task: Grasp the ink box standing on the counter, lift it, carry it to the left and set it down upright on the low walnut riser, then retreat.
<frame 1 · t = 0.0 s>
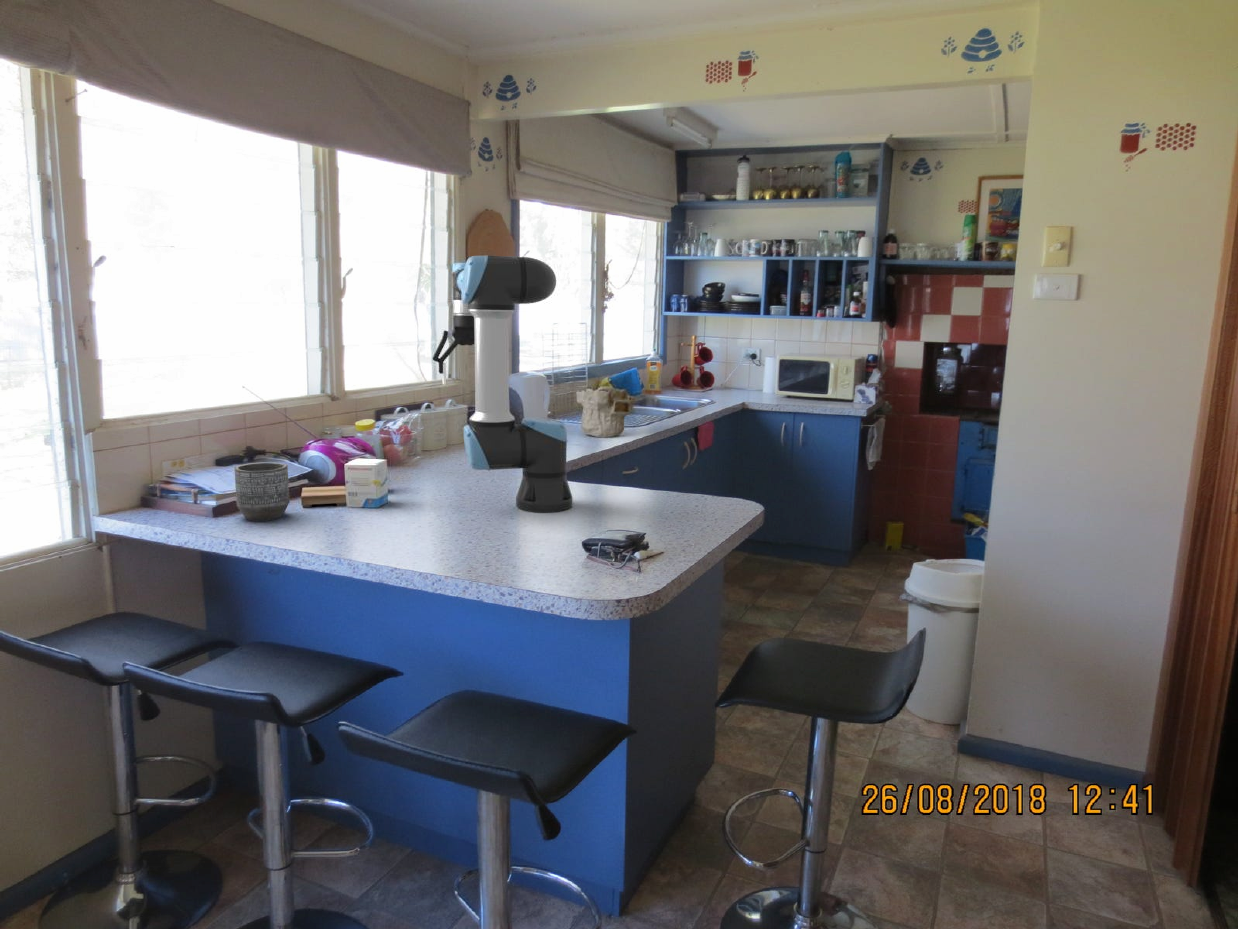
hand: (466, 384, 267), 28 cm above the countertop, fingers open, 13 cm apart
ink box: (367, 505, 229), on the countertop
planter: (264, 517, 214), on the countertop
tin: (376, 491, 244), on the countertop
riser: (324, 502, 230), on the countertop
ceramic vessel: (607, 435, 355), on the countertop
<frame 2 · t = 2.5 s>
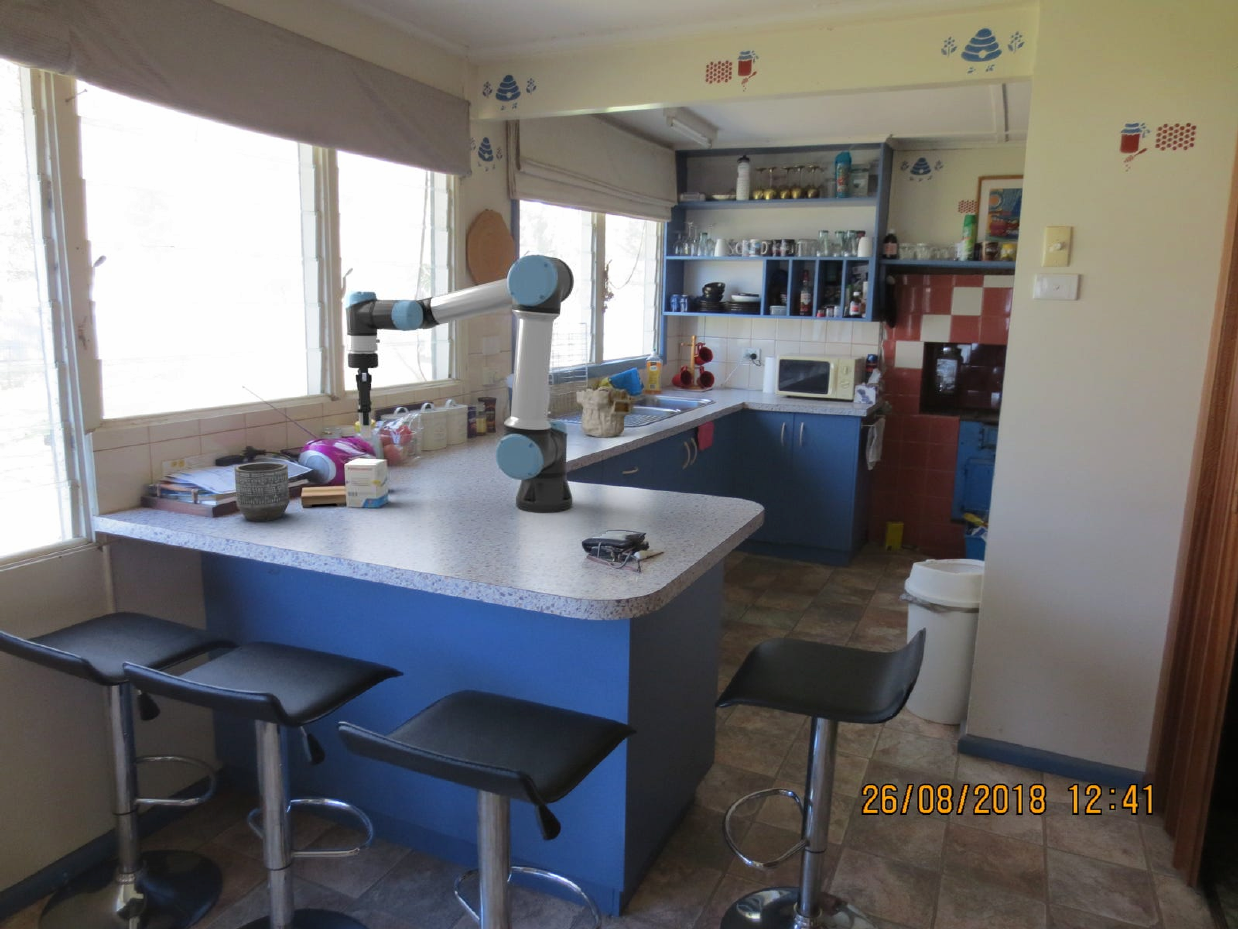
hand: (365, 433, 226), 19 cm above the countertop, fingers open, 13 cm apart
nothing on the countertop moved.
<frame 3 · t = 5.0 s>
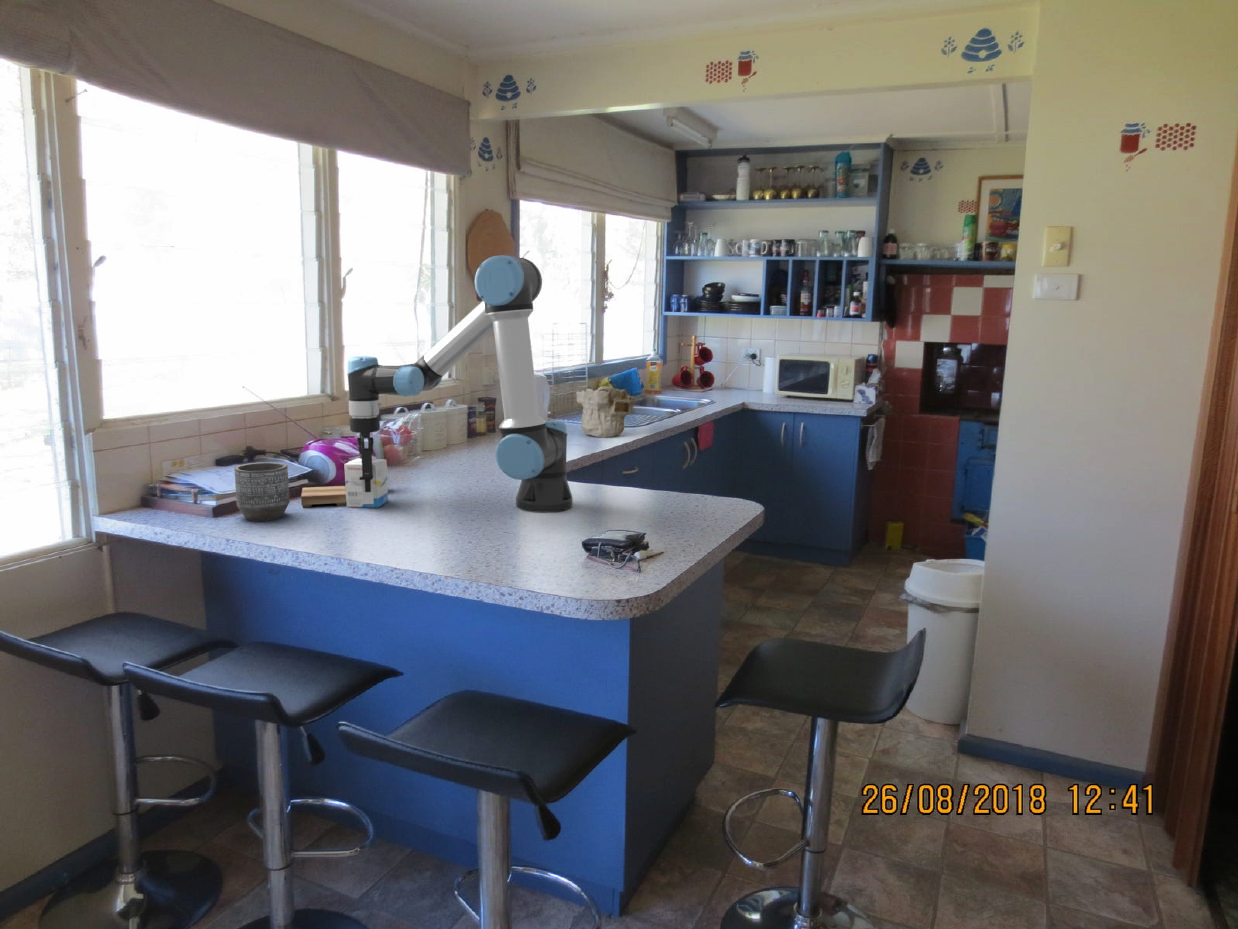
hand: (367, 499, 229), 1 cm above the countertop, fingers closed on ink box, 10 cm apart
ink box: (367, 504, 229), on the countertop, touching gripper
everything else where it was.
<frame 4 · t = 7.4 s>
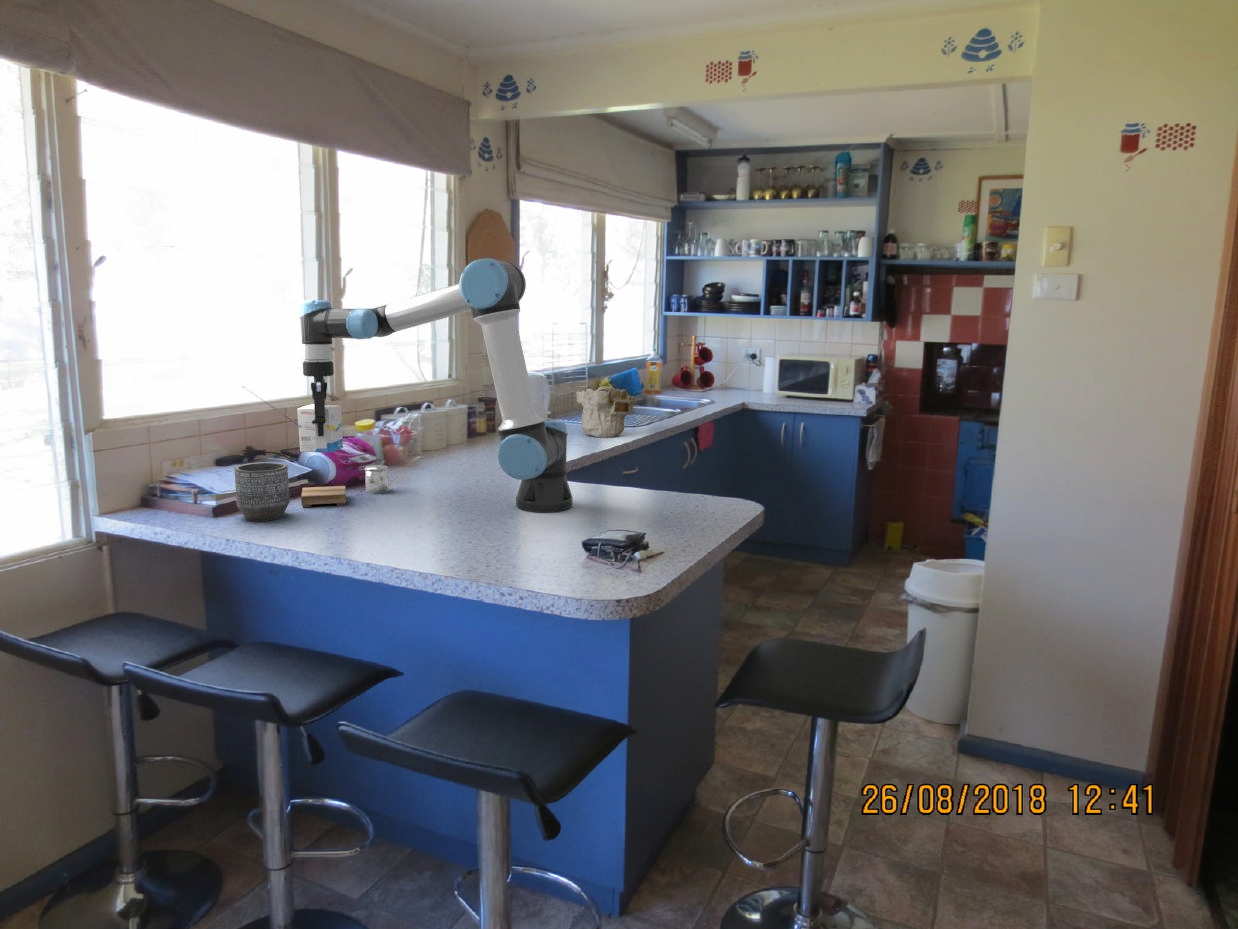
hand: (321, 444, 227), 15 cm above the countertop, fingers closed on ink box, 10 cm apart
ink box: (322, 450, 228), point 14 cm above the countertop, touching gripper
everything else where it was.
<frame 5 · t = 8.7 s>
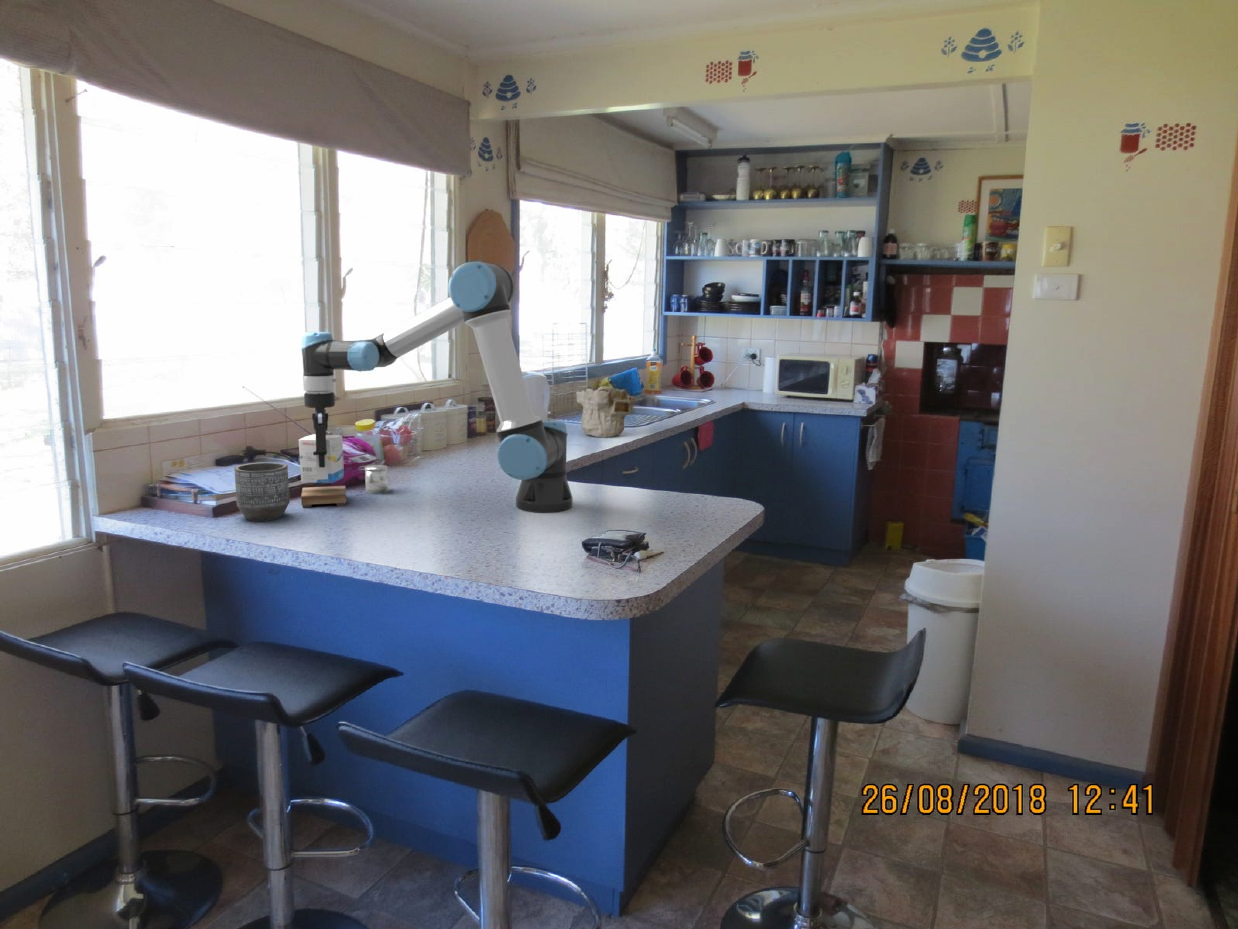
hand: (322, 474, 229), 7 cm above the countertop, fingers closed on ink box, 10 cm apart
ink box: (323, 480, 229), point 6 cm above the countertop, touching gripper
everything else where it was.
when the fingers open (6 cm above the countertop, at t = 10.0 s): ink box drops 1 cm, resting on riser.
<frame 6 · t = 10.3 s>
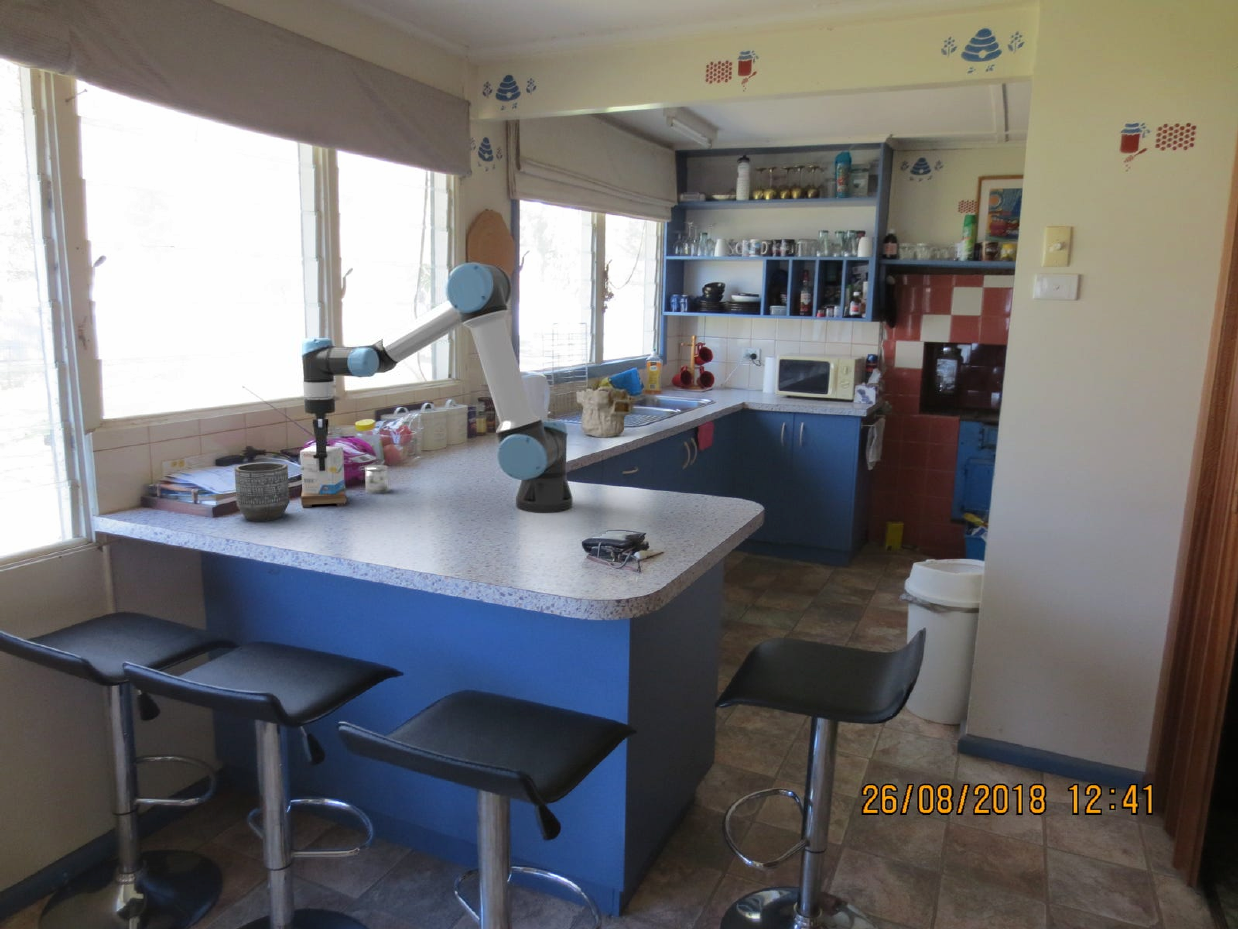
hand: (323, 477, 229), 7 cm above the countertop, fingers open, 13 cm apart
ink box: (324, 491, 230), point 3 cm above the countertop, touching riser
everything else where it was.
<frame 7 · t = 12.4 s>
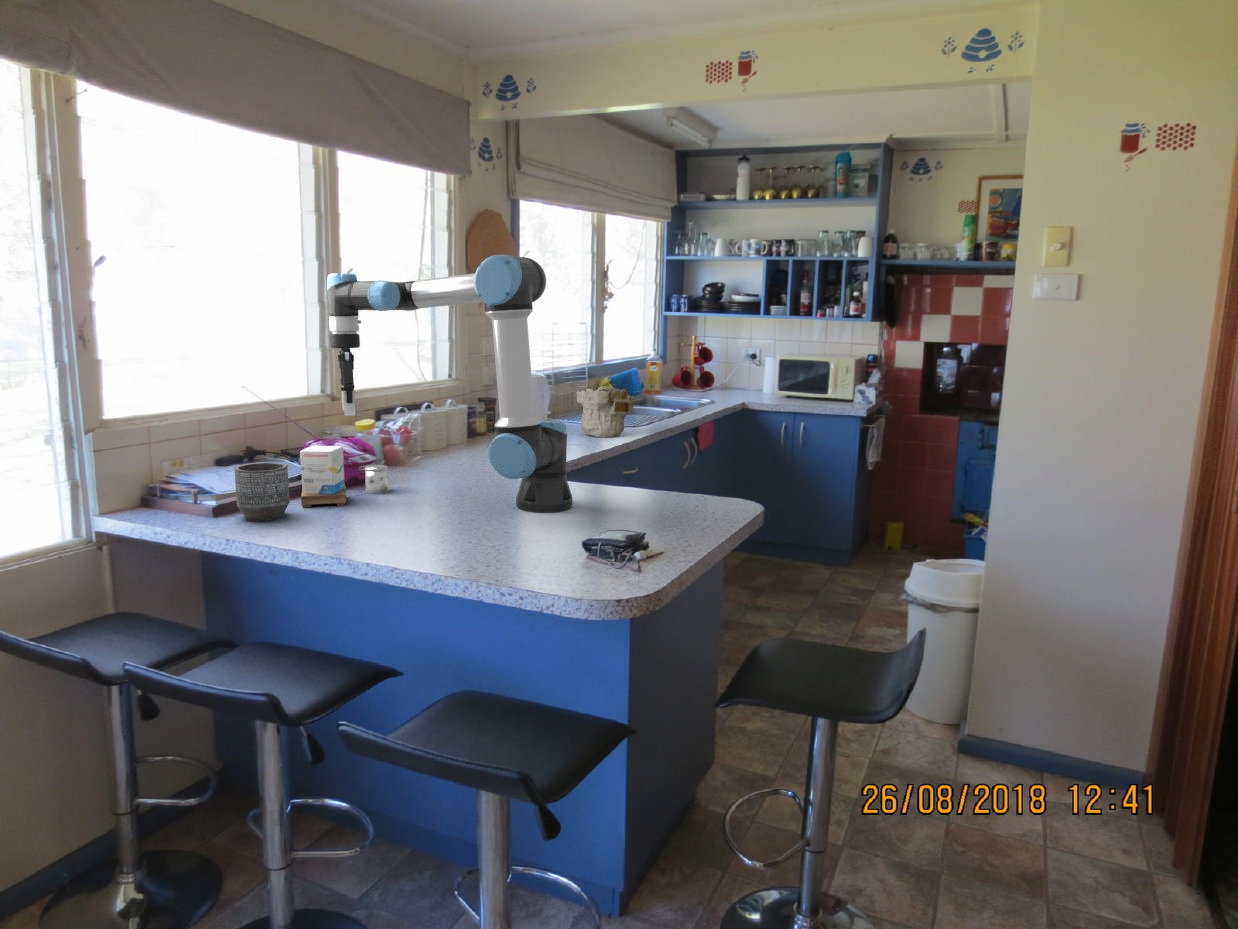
hand: (348, 412, 232), 23 cm above the countertop, fingers open, 13 cm apart
nothing on the countertop moved.
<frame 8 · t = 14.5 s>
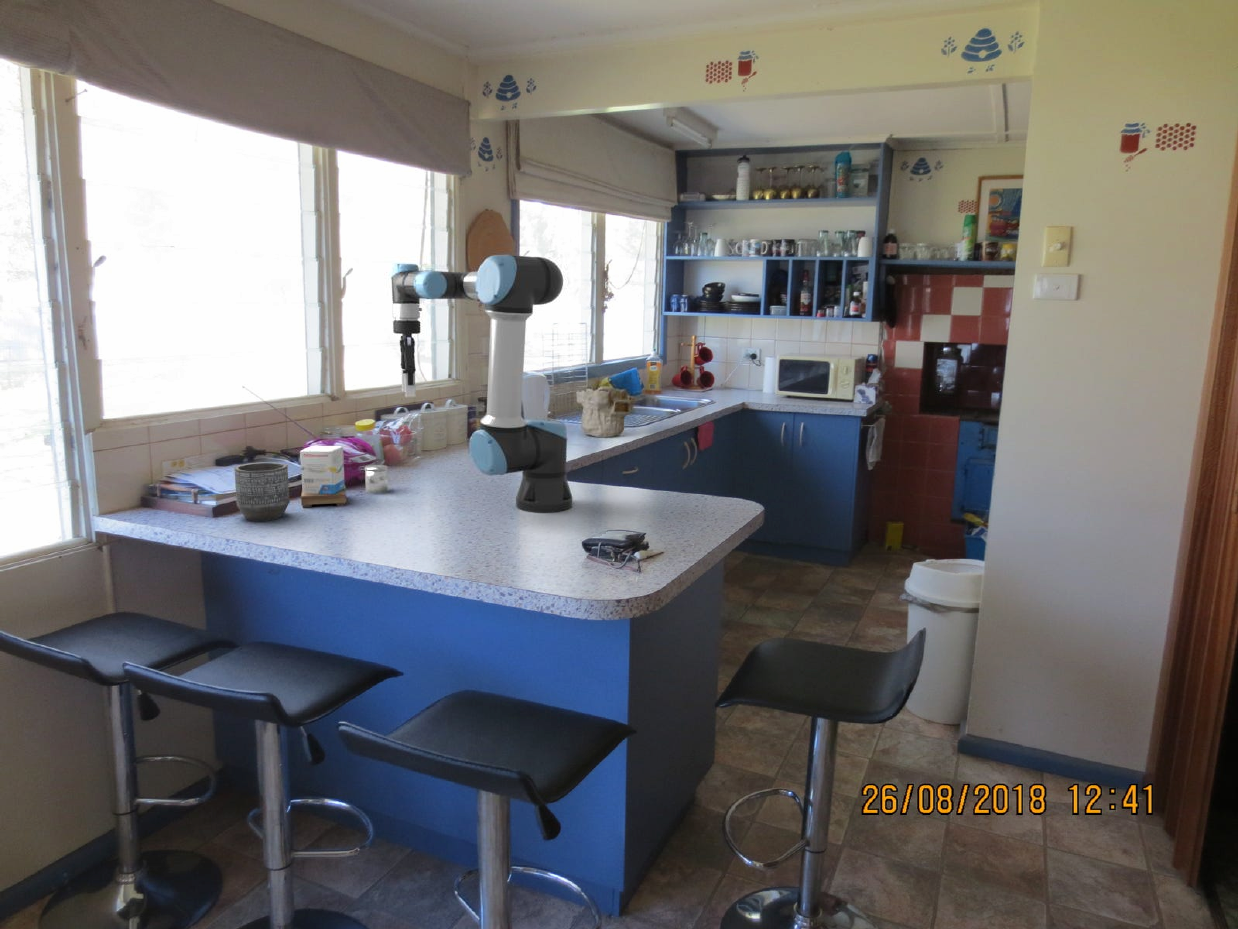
hand: (408, 394, 248), 27 cm above the countertop, fingers open, 13 cm apart
nothing on the countertop moved.
at the end: ink box inside the target area on the riser (0.1 cm from its centre), point 2.8 cm above the riser's base; ink box tilted 0°; the gripper is holding nothing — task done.
